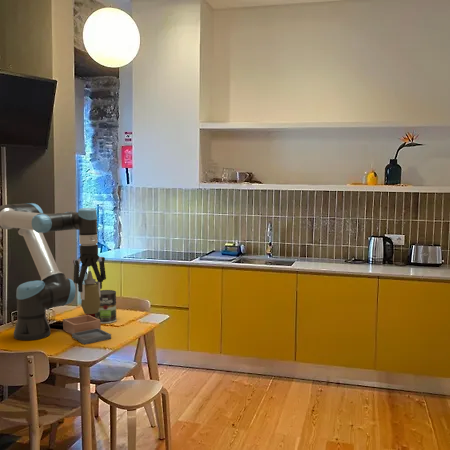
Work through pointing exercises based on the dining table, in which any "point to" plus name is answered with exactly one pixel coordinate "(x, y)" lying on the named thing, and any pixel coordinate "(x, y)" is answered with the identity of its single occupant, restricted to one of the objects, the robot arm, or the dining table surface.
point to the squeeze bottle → (91, 296)
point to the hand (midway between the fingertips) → (90, 297)
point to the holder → (81, 324)
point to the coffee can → (107, 307)
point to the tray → (91, 336)
